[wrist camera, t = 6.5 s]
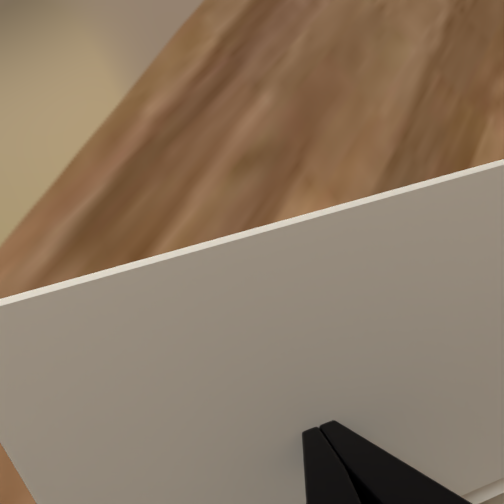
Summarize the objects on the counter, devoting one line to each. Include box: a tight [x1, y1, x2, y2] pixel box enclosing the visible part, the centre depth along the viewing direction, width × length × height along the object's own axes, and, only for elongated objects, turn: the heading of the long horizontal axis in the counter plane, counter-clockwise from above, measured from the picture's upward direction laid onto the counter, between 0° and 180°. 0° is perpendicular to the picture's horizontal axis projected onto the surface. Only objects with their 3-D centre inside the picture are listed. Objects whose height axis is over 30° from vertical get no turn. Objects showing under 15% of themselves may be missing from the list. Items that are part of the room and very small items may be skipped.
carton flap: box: [0, 159, 504, 504], centre depth 8 cm, size 1×12×9 cm
